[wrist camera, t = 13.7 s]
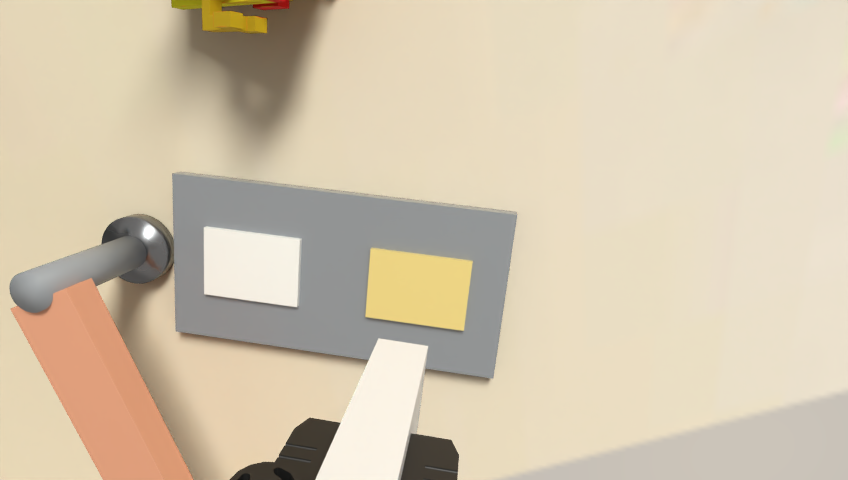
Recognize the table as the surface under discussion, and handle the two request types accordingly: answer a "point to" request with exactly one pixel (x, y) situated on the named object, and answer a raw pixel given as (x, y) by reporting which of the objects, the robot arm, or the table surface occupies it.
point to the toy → (231, 14)
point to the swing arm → (96, 362)
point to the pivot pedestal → (152, 238)
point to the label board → (340, 270)
